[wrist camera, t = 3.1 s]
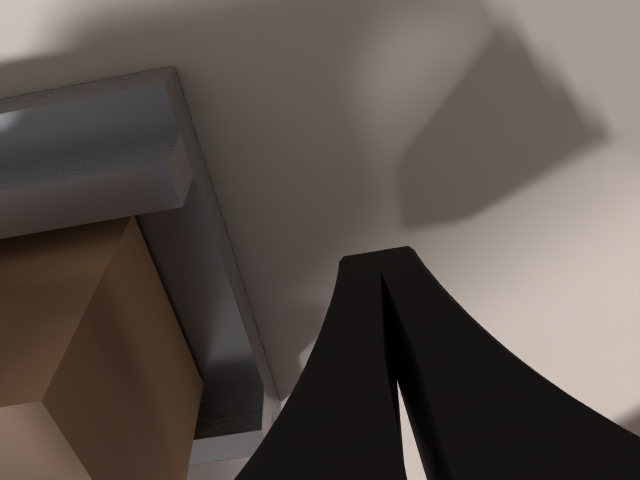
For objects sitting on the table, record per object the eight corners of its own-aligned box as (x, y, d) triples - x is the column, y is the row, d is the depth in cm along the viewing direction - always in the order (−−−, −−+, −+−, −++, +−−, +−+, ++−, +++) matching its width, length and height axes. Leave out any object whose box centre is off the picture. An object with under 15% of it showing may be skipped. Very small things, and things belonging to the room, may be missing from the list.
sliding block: (21, 412, 13) (-100, 646, 9) (-90, 252, 11) (-319, 474, 7) (203, 384, 13) (161, 613, 9) (132, 213, 11) (31, 421, 7)
